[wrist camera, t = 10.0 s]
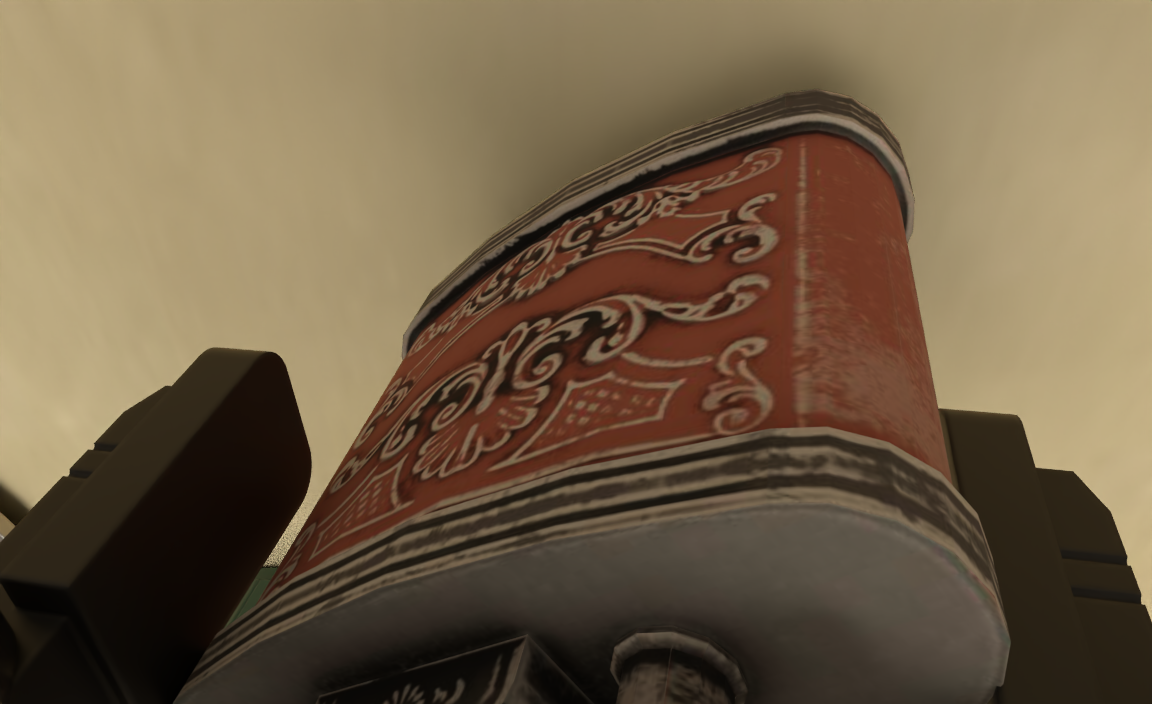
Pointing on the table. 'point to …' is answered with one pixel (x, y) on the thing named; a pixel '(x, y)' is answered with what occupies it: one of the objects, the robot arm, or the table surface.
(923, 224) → the table surface
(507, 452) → the lighter
